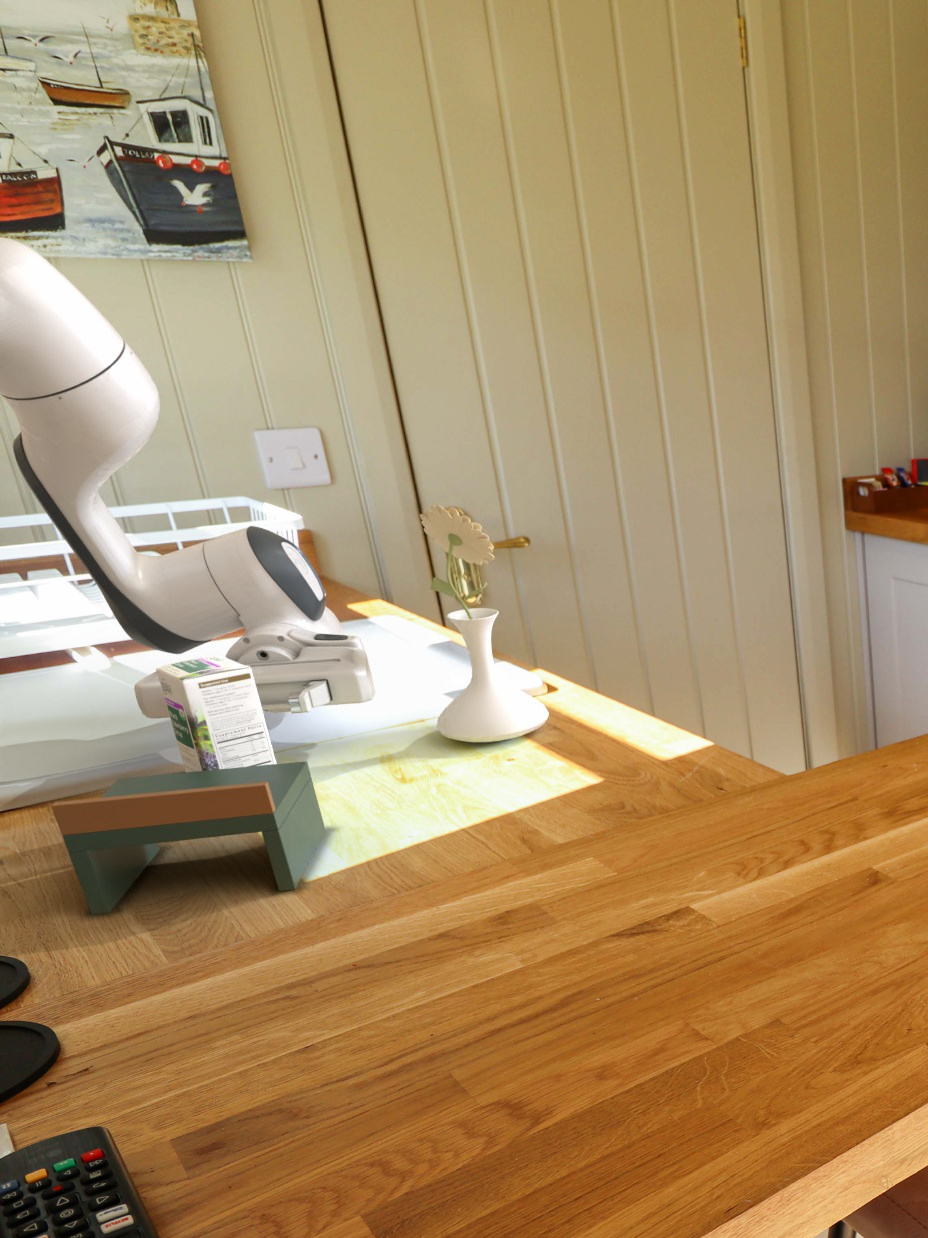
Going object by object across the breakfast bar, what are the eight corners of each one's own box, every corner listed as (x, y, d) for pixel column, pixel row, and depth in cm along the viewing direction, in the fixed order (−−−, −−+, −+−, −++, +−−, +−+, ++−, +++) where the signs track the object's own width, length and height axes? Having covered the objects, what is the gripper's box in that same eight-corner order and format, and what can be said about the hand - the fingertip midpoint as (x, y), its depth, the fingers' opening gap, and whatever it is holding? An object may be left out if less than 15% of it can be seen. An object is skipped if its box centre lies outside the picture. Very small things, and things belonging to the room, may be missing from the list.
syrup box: (196, 814, 109) (149, 666, 103) (264, 795, 113) (223, 652, 107) (224, 830, 106) (177, 679, 100) (293, 809, 111) (252, 663, 105)
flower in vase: (570, 732, 131) (532, 508, 121) (468, 759, 123) (419, 522, 113) (513, 706, 138) (474, 493, 128) (414, 730, 130) (363, 505, 120)
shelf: (91, 915, 92) (50, 805, 88) (143, 851, 102) (109, 751, 98) (295, 890, 96) (265, 785, 92) (326, 831, 106) (300, 734, 102)
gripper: (152, 647, 120) (102, 687, 108) (376, 634, 126) (352, 670, 115) (170, 705, 122) (123, 750, 111) (388, 689, 129) (366, 730, 117)
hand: (241, 709), depth 113 cm, fingers open, 8 cm apart
